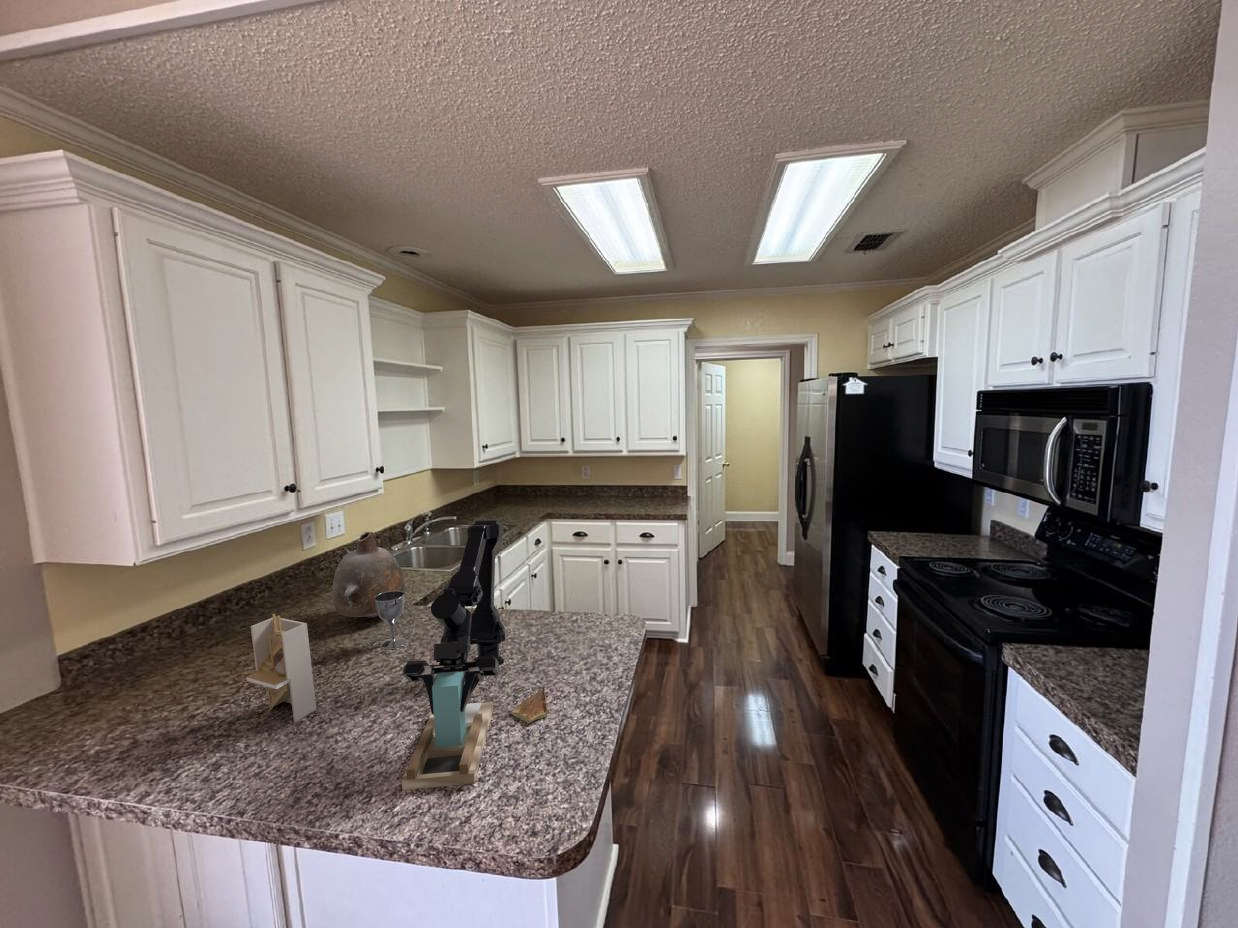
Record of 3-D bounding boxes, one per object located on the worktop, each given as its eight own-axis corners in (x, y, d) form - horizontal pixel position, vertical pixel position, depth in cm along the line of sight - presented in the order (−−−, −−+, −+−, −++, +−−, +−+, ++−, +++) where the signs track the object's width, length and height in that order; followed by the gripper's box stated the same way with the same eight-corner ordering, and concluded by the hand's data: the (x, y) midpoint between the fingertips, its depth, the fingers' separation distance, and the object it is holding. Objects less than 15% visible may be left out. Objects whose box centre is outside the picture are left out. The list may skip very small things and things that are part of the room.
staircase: (283, 700, 119) (271, 601, 116) (316, 710, 115) (305, 607, 112) (249, 720, 112) (235, 614, 109) (283, 731, 108) (270, 622, 105)
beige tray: (435, 714, 112) (433, 698, 111) (492, 709, 113) (491, 693, 112) (402, 790, 90) (400, 770, 89) (474, 783, 91) (472, 763, 91)
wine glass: (407, 646, 144) (403, 598, 142) (377, 652, 141) (373, 602, 139) (408, 635, 151) (404, 588, 149) (380, 640, 148) (375, 593, 146)
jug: (341, 609, 171) (332, 526, 167) (407, 598, 179) (400, 519, 176) (330, 640, 149) (320, 545, 145) (406, 626, 157) (398, 535, 153)
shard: (544, 692, 120) (543, 686, 120) (567, 703, 115) (567, 696, 115) (510, 716, 111) (510, 709, 111) (533, 728, 107) (533, 721, 107)
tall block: (442, 730, 103) (438, 673, 101) (466, 729, 103) (463, 671, 102) (435, 747, 98) (432, 687, 96) (461, 745, 98) (458, 685, 97)
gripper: (402, 625, 101) (386, 707, 91) (494, 619, 102) (488, 699, 93) (416, 642, 109) (404, 719, 100) (501, 637, 111) (496, 712, 102)
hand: (447, 712), depth 98 cm, fingers closed on tall block, 5 cm apart
